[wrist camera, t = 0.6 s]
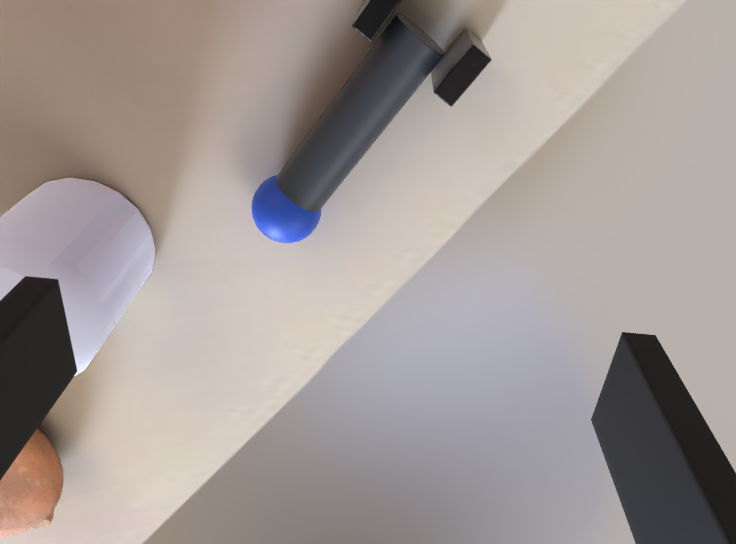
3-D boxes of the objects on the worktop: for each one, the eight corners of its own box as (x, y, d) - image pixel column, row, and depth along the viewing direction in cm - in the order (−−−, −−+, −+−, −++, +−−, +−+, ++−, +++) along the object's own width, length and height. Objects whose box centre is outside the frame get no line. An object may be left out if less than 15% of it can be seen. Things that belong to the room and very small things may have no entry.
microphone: (390, 1, 33) (388, 14, 30) (449, 51, 35) (454, 69, 31) (247, 199, 40) (231, 229, 36) (300, 235, 41) (290, 267, 38)
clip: (391, -37, 32) (389, -28, 29) (482, 41, 34) (491, 59, 31) (357, 11, 34) (351, 26, 30) (446, 84, 36) (451, 107, 32)
